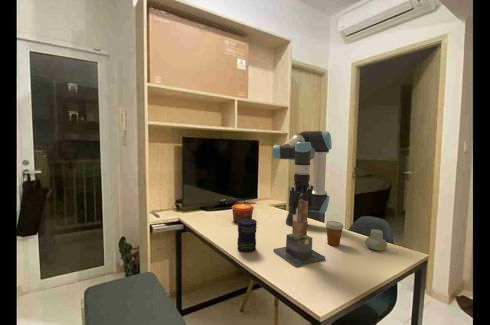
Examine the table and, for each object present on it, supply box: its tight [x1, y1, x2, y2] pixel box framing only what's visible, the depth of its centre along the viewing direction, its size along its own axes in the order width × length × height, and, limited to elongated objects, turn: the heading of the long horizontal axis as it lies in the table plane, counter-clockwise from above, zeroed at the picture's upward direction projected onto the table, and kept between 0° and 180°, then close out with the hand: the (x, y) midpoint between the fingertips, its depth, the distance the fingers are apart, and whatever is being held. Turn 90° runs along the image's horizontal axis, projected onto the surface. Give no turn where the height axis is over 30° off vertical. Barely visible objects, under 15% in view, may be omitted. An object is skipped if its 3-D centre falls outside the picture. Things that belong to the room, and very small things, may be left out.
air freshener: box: [364, 228, 388, 252], centre depth 141 cm, size 11×8×10 cm
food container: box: [231, 203, 255, 224], centre depth 185 cm, size 16×16×11 cm
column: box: [291, 199, 309, 239], centre depth 128 cm, size 5×5×20 cm
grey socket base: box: [273, 233, 326, 268], centre depth 129 cm, size 18×18×10 cm
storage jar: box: [236, 218, 257, 254], centre depth 136 cm, size 10×10×15 cm
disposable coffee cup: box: [325, 220, 344, 247], centre depth 145 cm, size 10×10×12 cm
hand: (300, 219), depth 128 cm, fingers open, 5 cm apart
